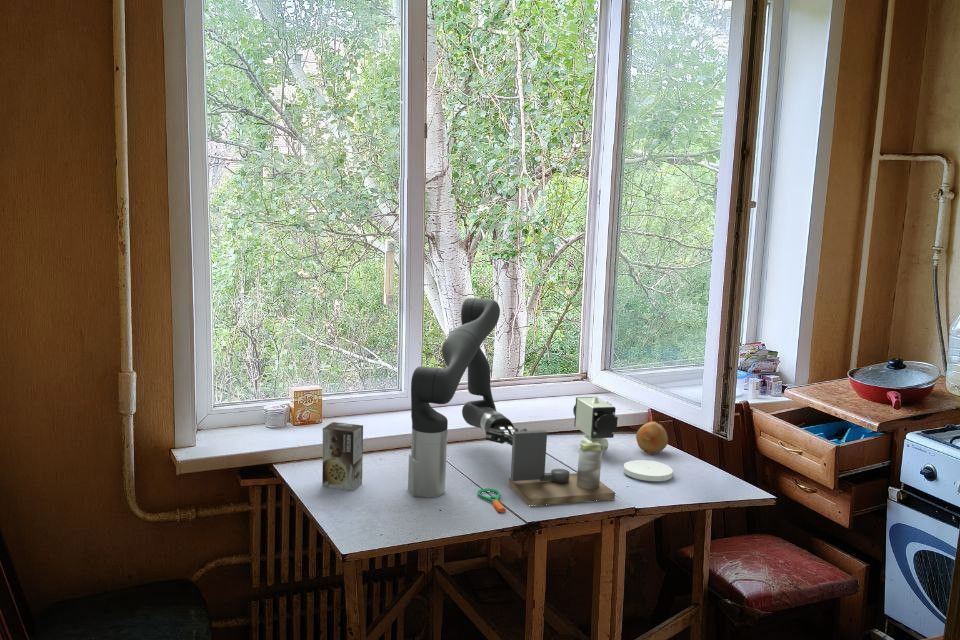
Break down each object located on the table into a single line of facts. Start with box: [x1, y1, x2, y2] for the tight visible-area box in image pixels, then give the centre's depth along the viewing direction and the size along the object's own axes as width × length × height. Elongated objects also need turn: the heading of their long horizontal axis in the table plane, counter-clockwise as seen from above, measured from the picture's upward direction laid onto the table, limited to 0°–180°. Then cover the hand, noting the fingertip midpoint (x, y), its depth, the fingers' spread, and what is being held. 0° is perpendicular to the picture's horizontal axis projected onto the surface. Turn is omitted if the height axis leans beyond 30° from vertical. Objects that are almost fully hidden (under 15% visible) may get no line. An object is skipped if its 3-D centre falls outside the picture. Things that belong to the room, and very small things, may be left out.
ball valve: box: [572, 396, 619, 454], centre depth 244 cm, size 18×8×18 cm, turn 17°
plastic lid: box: [623, 459, 674, 482], centre depth 226 cm, size 14×14×2 cm
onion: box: [635, 421, 669, 455], centre depth 247 cm, size 10×10×10 cm
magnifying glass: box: [476, 487, 507, 513], centre depth 200 cm, size 15×6×2 cm, turn 15°
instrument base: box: [507, 442, 616, 506], centre depth 208 cm, size 24×16×14 cm, turn 108°
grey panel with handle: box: [510, 429, 571, 484], centre depth 209 cm, size 16×5×14 cm, turn 108°
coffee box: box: [321, 421, 364, 491], centre depth 205 cm, size 9×6×16 cm
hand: (517, 443), depth 212 cm, fingers closed
